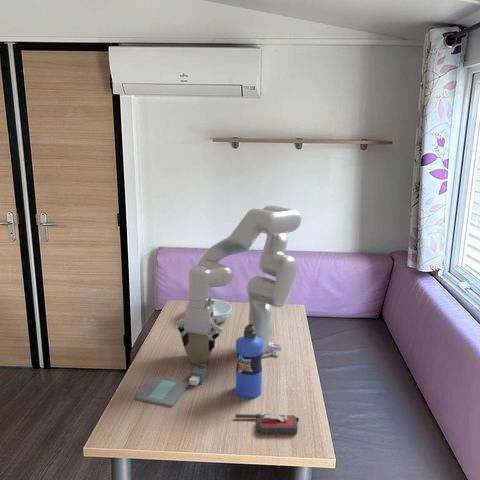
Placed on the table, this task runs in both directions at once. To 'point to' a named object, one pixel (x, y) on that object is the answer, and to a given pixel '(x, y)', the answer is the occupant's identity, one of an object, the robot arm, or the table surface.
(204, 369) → the usb plug
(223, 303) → the serving bowl
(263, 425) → the walkie-talkie
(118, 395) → the table surface
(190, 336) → the plant pot
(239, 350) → the water bottle
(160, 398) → the dock pad
